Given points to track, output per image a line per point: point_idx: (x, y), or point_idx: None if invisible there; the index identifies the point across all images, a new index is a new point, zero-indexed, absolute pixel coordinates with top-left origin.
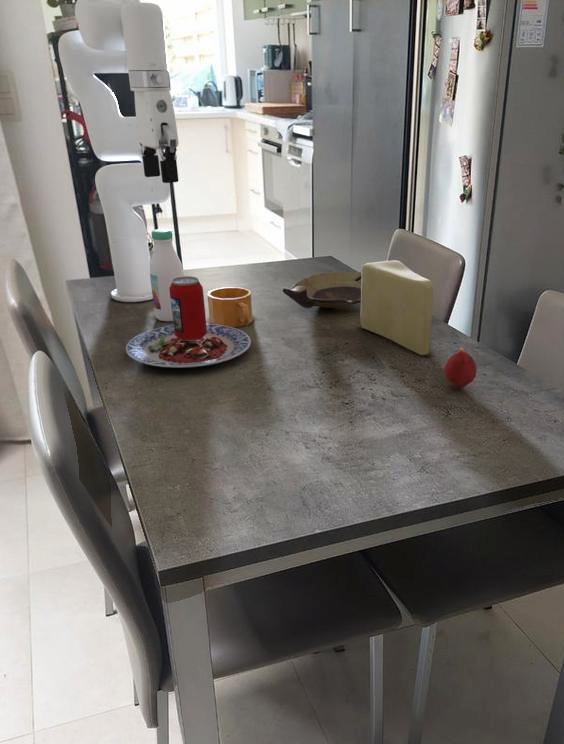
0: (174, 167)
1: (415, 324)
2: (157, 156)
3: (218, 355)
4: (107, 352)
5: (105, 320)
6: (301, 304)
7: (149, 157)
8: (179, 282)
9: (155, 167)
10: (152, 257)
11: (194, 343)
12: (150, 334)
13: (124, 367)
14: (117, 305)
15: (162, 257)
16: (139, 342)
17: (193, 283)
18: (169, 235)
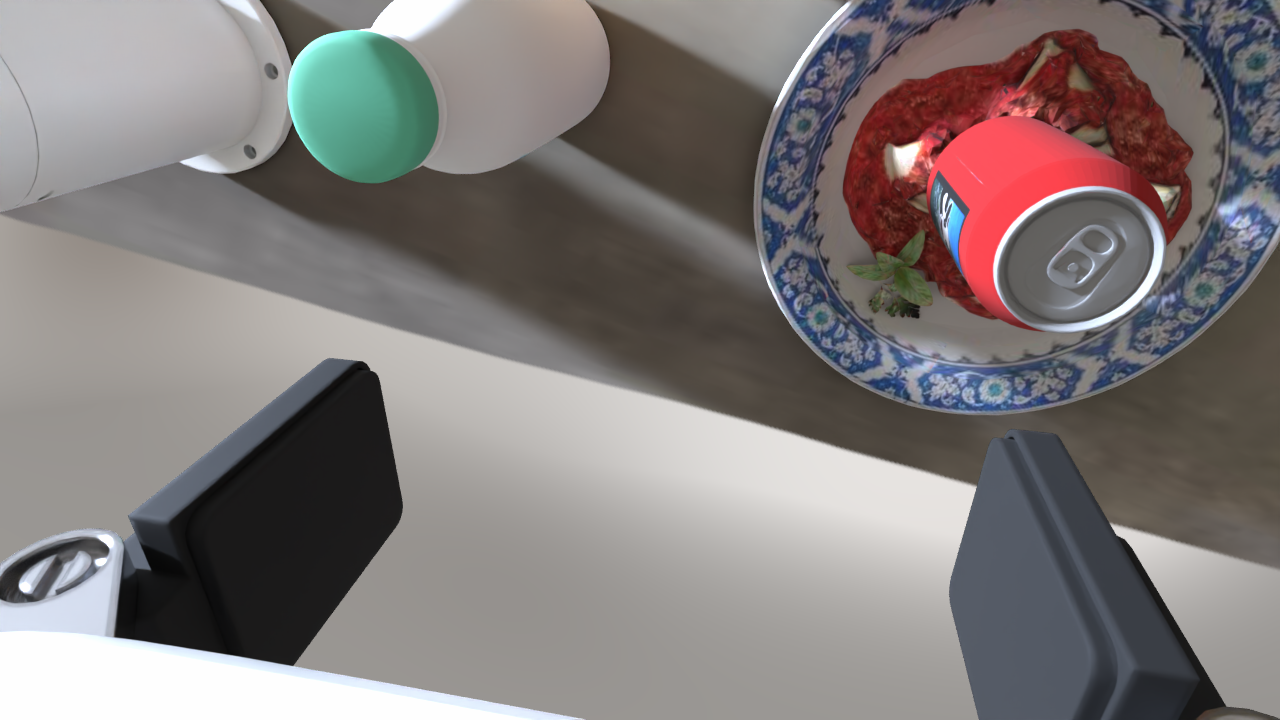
0: (1180, 639)
1: None
2: (206, 524)
3: (1170, 133)
4: (780, 400)
5: (465, 286)
6: None
7: (254, 631)
8: (1077, 300)
9: (327, 468)
10: (438, 167)
11: None
12: (796, 271)
13: (945, 414)
14: (308, 184)
15: (489, 132)
16: (848, 334)
17: (1164, 250)
18: (419, 78)
